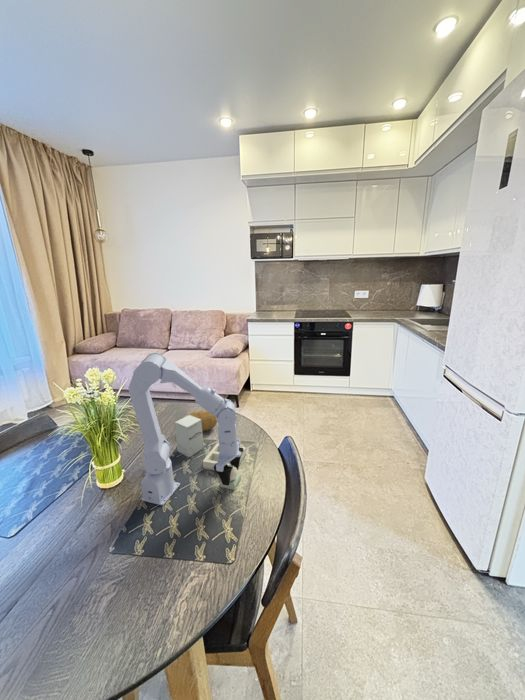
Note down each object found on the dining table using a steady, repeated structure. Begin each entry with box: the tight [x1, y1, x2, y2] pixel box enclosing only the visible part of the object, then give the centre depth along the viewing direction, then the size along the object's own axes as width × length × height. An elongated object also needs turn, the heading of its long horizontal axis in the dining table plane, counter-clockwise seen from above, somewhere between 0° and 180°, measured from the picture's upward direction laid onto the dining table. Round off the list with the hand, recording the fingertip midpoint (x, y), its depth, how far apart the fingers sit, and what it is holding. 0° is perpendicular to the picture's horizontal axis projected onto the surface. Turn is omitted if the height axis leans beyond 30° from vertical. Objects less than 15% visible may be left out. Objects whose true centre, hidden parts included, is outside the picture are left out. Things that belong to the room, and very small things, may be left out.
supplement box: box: [173, 414, 205, 458], centre depth 114 cm, size 7×7×13 cm
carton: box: [202, 442, 247, 472], centre depth 107 cm, size 12×12×3 cm
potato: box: [188, 410, 218, 432], centre depth 129 cm, size 10×14×8 cm
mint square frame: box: [219, 473, 242, 491], centre depth 96 cm, size 5×5×2 cm
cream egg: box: [228, 465, 239, 481], centre depth 96 cm, size 5×5×5 cm
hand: (230, 476), depth 96 cm, fingers open, 7 cm apart
